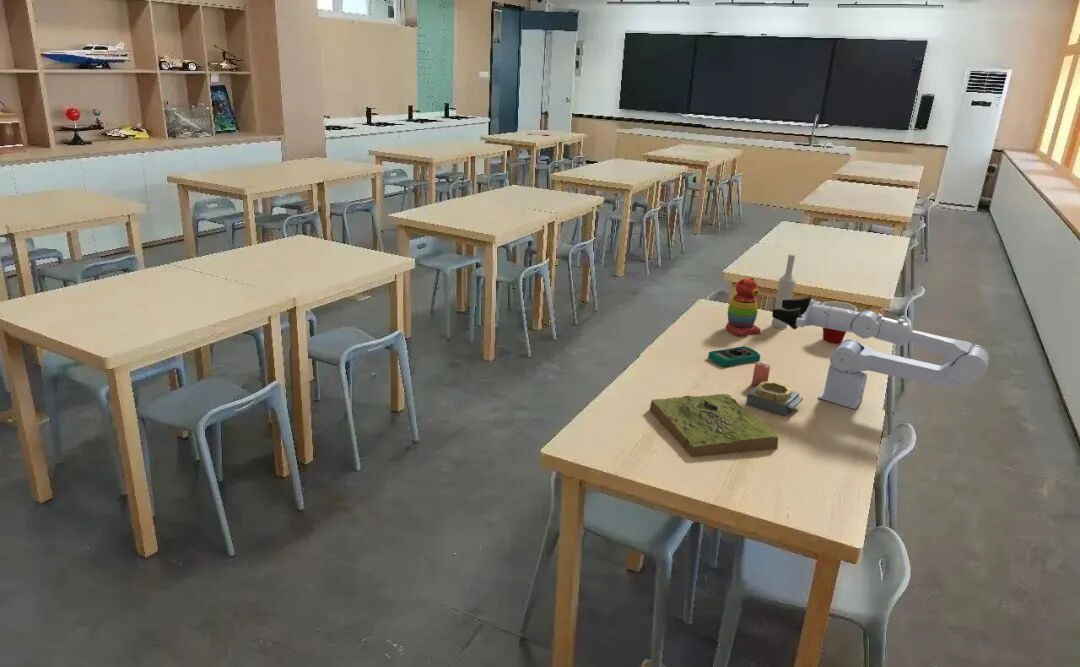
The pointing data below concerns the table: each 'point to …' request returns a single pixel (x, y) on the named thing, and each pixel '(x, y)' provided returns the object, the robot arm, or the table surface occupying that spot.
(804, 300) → the robot arm
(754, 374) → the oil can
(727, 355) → the digital multimeter
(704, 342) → the table surface
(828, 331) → the plastic cup
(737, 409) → the miniature landscape model
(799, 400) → the stone well model
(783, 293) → the bottle
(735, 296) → the stacking bear
